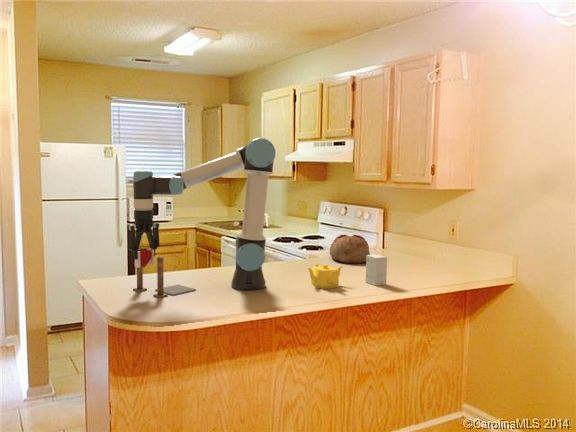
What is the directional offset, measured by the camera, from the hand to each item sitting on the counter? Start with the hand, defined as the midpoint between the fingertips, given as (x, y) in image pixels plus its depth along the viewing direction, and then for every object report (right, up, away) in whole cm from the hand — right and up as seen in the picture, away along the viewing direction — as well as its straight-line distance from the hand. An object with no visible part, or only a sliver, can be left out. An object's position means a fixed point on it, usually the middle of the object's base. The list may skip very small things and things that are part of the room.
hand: (144, 265), depth 203 cm
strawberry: (0, -1, 0) cm, 1 cm away
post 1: (-4, -11, +8) cm, 14 cm away
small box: (+99, -12, +30) cm, 104 cm away
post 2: (+7, -12, -1) cm, 14 cm away
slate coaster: (+11, -11, +9) cm, 18 cm away
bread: (+94, -6, +89) cm, 130 cm away
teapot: (+75, -12, +24) cm, 80 cm away
